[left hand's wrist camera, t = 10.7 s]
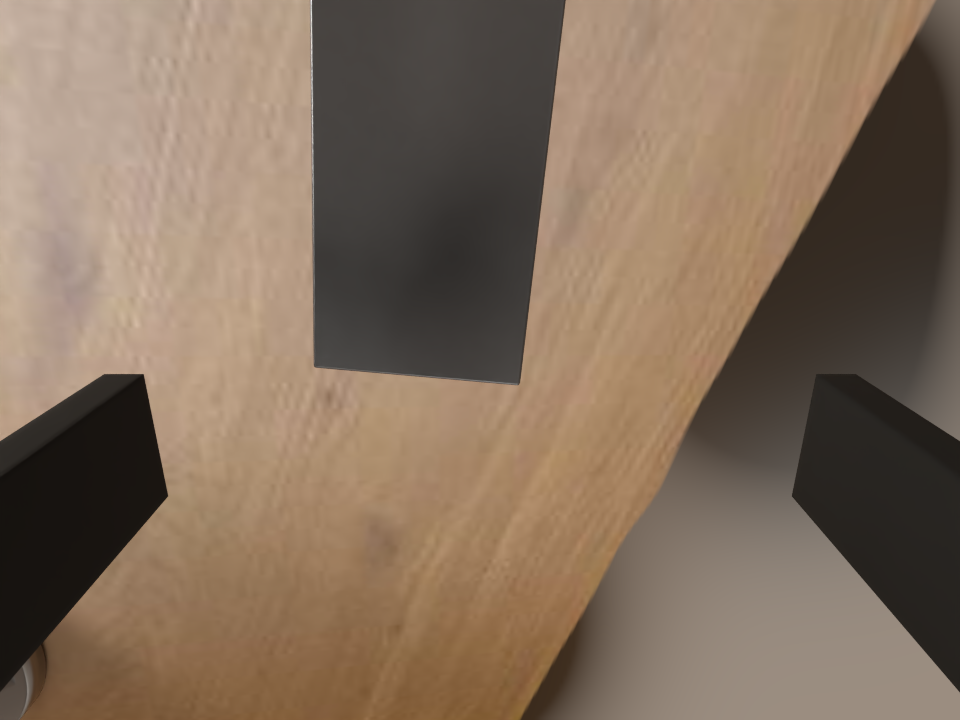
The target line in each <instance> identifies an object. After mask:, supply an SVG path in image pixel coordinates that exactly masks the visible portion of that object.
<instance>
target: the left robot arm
mask: <svg viewBox="0 0 960 720" xmlns="http://www.w3.org/2000/svg"><path fill="white" fill-rule="evenodd" d="M167 497H168V493H167V488H166V483H165V478H164V473H163V468H162V463H161V458H160V453H159V449H158V444H157V439H156V434H155V429H154V424H153V419H152V414H151V409H150V404H149V399H148V394H147V389H146V384H145V379H144V374H104V375H102V376H101V377H99V378H98V379H96V380H95V381H93V382H91V383H90V384H88V385H87V386H85V387H84V388H82V389H81V390H79V391H78V392H76V393H74V394H73V395H71V396H70V397H68V398H67V399H65V400H64V401H62V402H60V403H59V404H57V405H56V406H54V407H53V408H51V409H50V410H48V411H46V412H45V413H43V414H42V415H40V416H39V417H37V418H36V419H34V420H32V421H31V422H29V423H28V424H26V425H25V426H23V427H22V428H20V429H19V430H17V431H15V432H14V433H12V434H11V435H9V436H8V437H6V438H5V439H3V440H1V441H0V720H20V719H21V717H22V716H23V715H24V714H25V712H26V711H27V710H28V709H29V707H30V706H31V705H32V704H33V702H34V701H35V700H36V699H37V697H38V696H39V694H40V692H41V690H42V688H43V685H44V681H45V677H46V661H45V656H44V652H43V649H42V646H41V644H42V643H43V642H44V640H45V639H46V638H47V637H48V636H49V635H50V633H51V632H52V631H53V630H54V629H55V628H56V626H57V625H58V624H59V623H60V622H61V621H62V619H63V618H64V617H65V616H66V615H67V614H68V612H69V611H70V610H71V609H72V608H73V607H74V605H75V604H76V603H77V602H78V601H79V600H80V598H81V597H82V596H83V595H84V594H85V593H86V591H87V590H88V589H89V588H90V587H91V586H92V584H93V583H94V582H95V581H96V580H97V579H98V577H99V576H100V575H101V574H102V573H103V572H104V570H105V569H106V568H107V567H108V566H109V565H110V563H111V562H112V561H113V560H114V559H115V558H116V556H117V555H118V554H119V553H120V552H121V551H122V549H123V548H124V547H125V546H126V545H127V544H128V542H129V541H130V540H131V539H132V538H133V537H134V535H135V534H136V533H137V532H138V531H139V530H140V528H141V527H142V526H143V525H144V524H145V523H146V521H147V520H148V519H149V518H150V517H151V516H152V514H153V513H154V512H155V511H156V510H157V509H158V507H159V506H160V505H161V504H162V503H163V502H164V500H165V499H166V498H167ZM792 497H793V498H794V499H795V500H796V502H797V503H798V504H799V505H800V506H801V507H802V509H803V510H804V511H805V512H806V513H807V514H808V516H809V517H810V518H811V519H812V520H813V521H814V523H815V524H816V525H817V526H818V527H819V528H820V530H821V531H822V532H823V533H824V534H825V535H826V537H827V538H828V539H829V540H830V541H831V542H832V544H833V545H834V546H835V547H836V548H837V549H838V551H839V552H840V553H841V554H842V555H843V556H844V558H845V559H846V560H847V561H848V562H849V563H850V565H851V566H852V567H853V568H854V569H855V570H856V572H857V573H858V574H859V575H860V576H861V577H862V579H863V580H864V581H865V582H866V583H867V584H868V586H869V587H870V588H871V589H872V590H873V591H874V593H875V594H876V595H877V596H878V597H879V598H880V600H881V601H882V602H883V603H884V604H885V605H886V606H887V608H888V609H889V610H890V611H891V612H892V614H893V615H894V616H895V617H896V618H897V619H898V621H899V622H900V623H901V624H902V625H903V626H904V628H905V629H906V630H907V631H908V632H909V633H910V635H911V636H912V637H913V638H914V639H915V640H916V642H917V643H918V644H919V645H920V646H921V647H922V649H923V650H924V651H925V652H926V653H927V654H928V656H929V657H930V658H931V659H932V660H933V661H934V663H935V664H936V665H937V666H938V667H939V668H940V670H941V671H942V672H943V673H944V674H945V675H946V677H947V678H948V679H949V680H950V681H951V682H952V684H953V685H954V686H955V687H956V688H957V689H958V691H959V692H960V441H958V440H957V439H955V438H954V437H952V436H951V435H949V434H948V433H946V432H945V431H943V430H941V429H940V428H938V427H937V426H935V425H934V424H932V423H931V422H929V421H927V420H926V419H924V418H923V417H921V416H920V415H918V414H917V413H915V412H914V411H912V410H910V409H909V408H907V407H906V406H904V405H903V404H901V403H899V402H898V401H896V400H895V399H893V398H892V397H890V396H889V395H887V394H886V393H884V392H882V391H881V390H879V389H878V388H876V387H875V386H873V385H872V384H870V383H868V382H867V381H865V380H864V379H862V378H861V377H859V376H858V375H856V374H817V375H816V379H815V384H814V389H813V394H812V399H811V404H810V409H809V414H808V419H807V424H806V429H805V434H804V439H803V444H802V449H801V454H800V459H799V463H798V469H797V473H796V478H795V483H794V488H793V493H792Z"/></svg>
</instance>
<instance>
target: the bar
mask: <svg viewBox="0 0 960 720" xmlns="http://www.w3.org/2000/svg"><path fill="white" fill-rule="evenodd" d="M565 1H566V0H310V33H311V133H312V232H313V331H314V367H316V368H327V369H339V370H350V371H362V372H373V373H384V374H396V375H407V376H419V377H430V378H442V379H453V380H464V381H476V382H487V383H499V384H510V385H519V384H520V378H521V370H522V361H523V353H524V345H525V336H526V328H527V320H528V311H529V303H530V294H531V286H532V278H533V269H534V261H535V253H536V244H537V236H538V227H539V219H540V211H541V202H542V194H543V185H544V177H545V169H546V160H547V152H548V144H549V135H550V127H551V118H552V110H553V102H554V93H555V85H556V76H557V68H558V60H559V51H560V43H561V35H562V26H563V18H564V9H565Z"/></svg>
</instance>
